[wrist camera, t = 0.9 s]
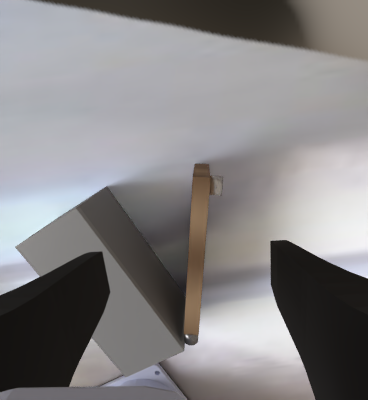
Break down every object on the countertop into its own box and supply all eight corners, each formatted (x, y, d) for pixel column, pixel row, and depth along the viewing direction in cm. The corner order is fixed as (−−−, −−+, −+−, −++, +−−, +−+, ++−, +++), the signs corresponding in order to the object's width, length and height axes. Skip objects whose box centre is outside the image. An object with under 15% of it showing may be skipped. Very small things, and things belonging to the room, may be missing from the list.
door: (207, 302, 23) (209, 346, 19) (186, 301, 23) (183, 344, 19) (219, 165, 20) (224, 178, 15) (194, 163, 20) (192, 176, 15)
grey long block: (188, 300, 24) (184, 351, 19) (141, 323, 25) (125, 377, 20) (106, 186, 21) (75, 208, 16) (58, 217, 22) (15, 247, 17)
